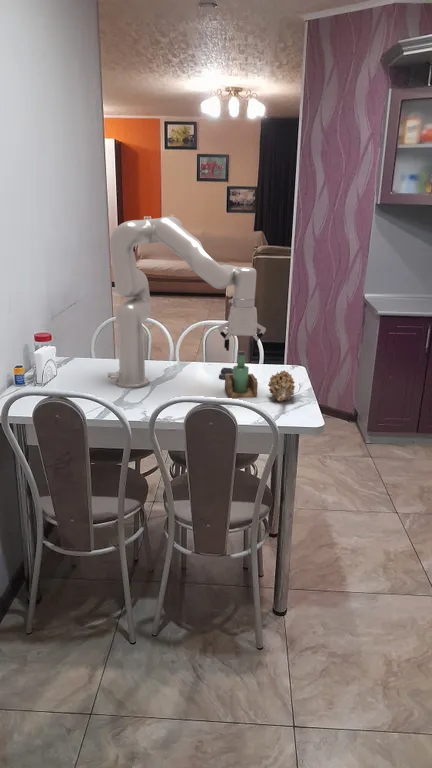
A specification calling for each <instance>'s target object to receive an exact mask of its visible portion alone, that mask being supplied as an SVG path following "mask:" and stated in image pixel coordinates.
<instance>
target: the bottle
mask: <svg viewBox="0 0 432 768" xmlns="http://www.w3.org/2000/svg"><path fill="white" fill-rule="evenodd" d="M245 362H246V351H244V350H243V351H242V350H239V351H237V364H236V365H233V367H232V369H233V389H232V391H233V392H235V393H246V392H248V374H249V371H250V369H249V366H247V365H245V364H246V363H245Z"/></svg>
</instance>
